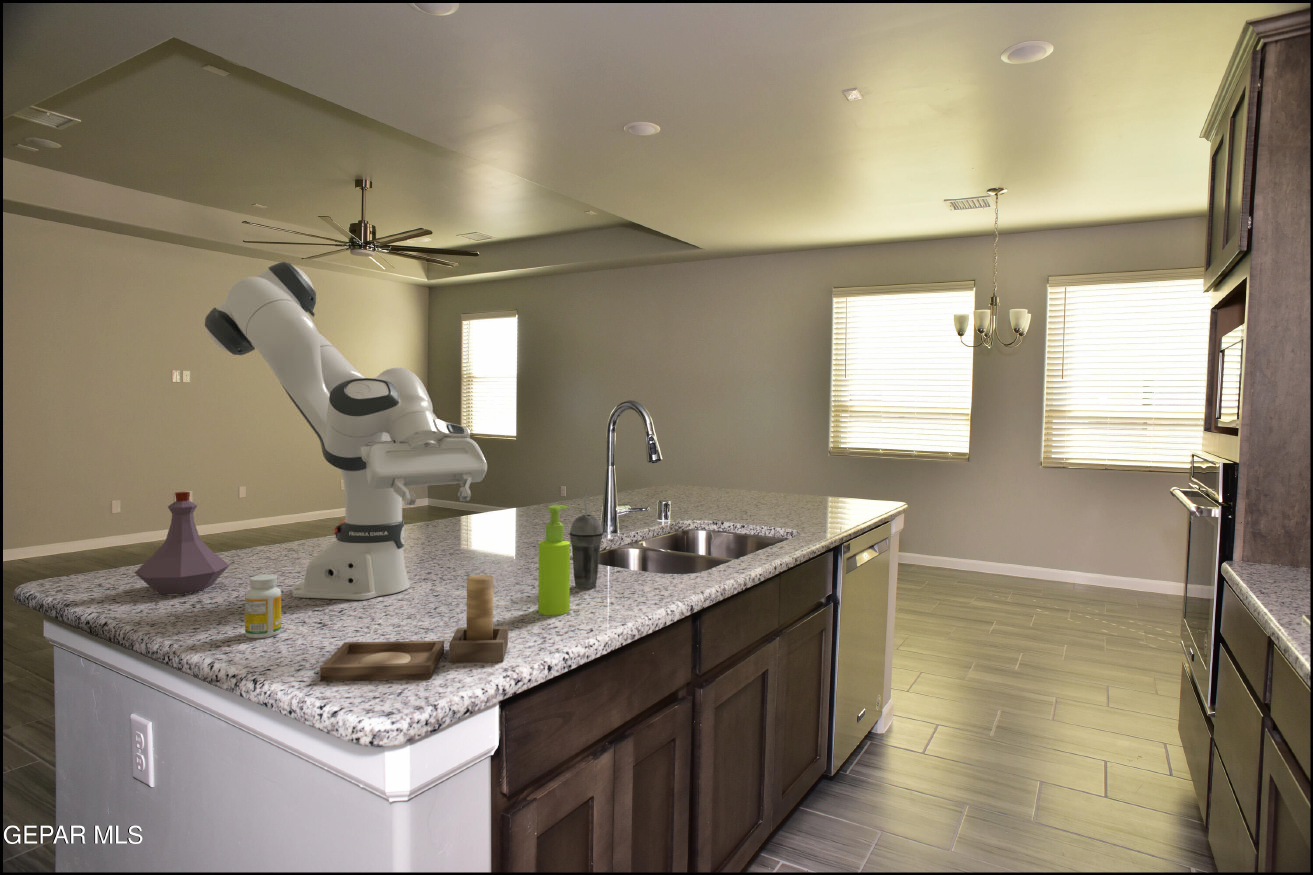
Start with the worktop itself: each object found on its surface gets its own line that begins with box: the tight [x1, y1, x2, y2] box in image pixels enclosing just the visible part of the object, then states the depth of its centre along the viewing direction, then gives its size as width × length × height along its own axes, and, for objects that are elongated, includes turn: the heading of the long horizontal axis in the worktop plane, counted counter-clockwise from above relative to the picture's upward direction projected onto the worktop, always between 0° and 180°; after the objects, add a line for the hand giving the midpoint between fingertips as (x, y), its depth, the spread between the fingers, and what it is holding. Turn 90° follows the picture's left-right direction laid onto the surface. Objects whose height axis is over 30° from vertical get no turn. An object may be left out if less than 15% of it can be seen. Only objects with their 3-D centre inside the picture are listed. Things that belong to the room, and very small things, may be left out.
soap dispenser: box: [537, 504, 571, 616], centre depth 141 cm, size 6×7×20 cm
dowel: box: [466, 574, 494, 640], centre depth 116 cm, size 4×4×12 cm
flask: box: [134, 491, 230, 595], centre depth 152 cm, size 16×16×20 cm
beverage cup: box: [568, 494, 604, 590], centre depth 159 cm, size 7×7×20 cm
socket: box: [448, 626, 509, 664], centre depth 116 cm, size 8×8×3 cm
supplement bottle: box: [244, 574, 282, 639], centre depth 124 cm, size 5×5×10 cm
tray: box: [319, 640, 445, 683], centre depth 110 cm, size 15×11×2 cm
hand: (439, 500), depth 125 cm, fingers open, 8 cm apart
